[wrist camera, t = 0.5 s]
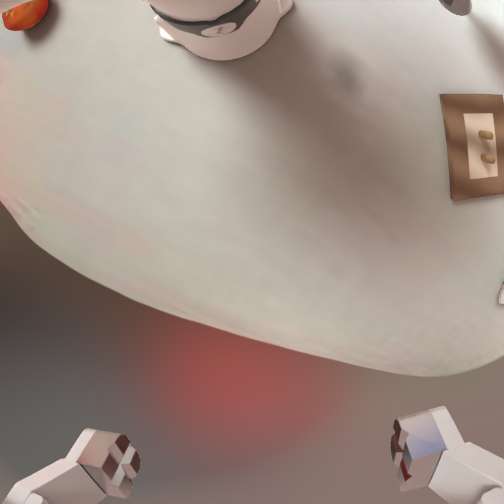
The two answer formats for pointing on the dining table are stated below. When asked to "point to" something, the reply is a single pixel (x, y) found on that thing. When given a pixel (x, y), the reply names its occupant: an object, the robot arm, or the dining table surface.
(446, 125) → the pin board
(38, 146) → the dining table surface
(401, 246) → the dining table surface
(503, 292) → the salad plate
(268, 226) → the dining table surface
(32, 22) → the tomato
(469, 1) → the wine glass
